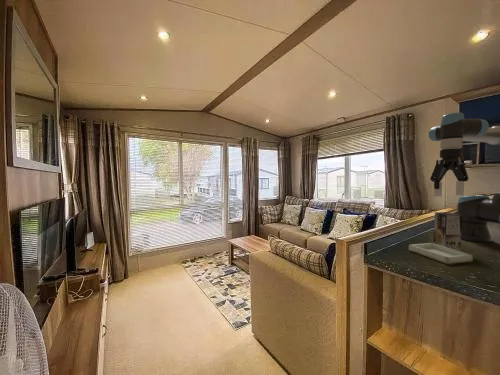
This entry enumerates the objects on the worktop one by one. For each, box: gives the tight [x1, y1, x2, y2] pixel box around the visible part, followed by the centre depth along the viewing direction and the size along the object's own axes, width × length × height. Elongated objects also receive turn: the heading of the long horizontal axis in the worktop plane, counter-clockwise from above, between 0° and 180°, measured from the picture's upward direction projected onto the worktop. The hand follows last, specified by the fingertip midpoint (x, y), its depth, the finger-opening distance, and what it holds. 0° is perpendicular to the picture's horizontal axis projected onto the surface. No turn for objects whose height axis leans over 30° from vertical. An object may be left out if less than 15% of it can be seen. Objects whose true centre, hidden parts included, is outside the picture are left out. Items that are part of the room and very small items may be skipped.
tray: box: [408, 242, 474, 265], centre depth 95 cm, size 13×16×2 cm
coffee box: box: [433, 211, 463, 251], centre depth 104 cm, size 9×6×16 cm
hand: (448, 195), depth 103 cm, fingers open, 13 cm apart
